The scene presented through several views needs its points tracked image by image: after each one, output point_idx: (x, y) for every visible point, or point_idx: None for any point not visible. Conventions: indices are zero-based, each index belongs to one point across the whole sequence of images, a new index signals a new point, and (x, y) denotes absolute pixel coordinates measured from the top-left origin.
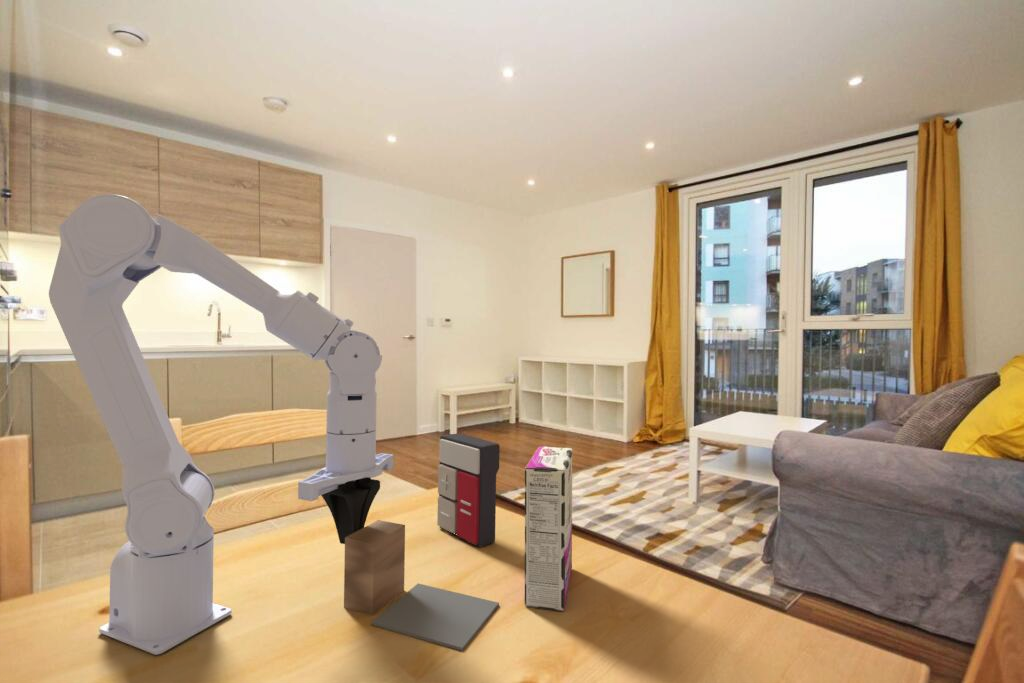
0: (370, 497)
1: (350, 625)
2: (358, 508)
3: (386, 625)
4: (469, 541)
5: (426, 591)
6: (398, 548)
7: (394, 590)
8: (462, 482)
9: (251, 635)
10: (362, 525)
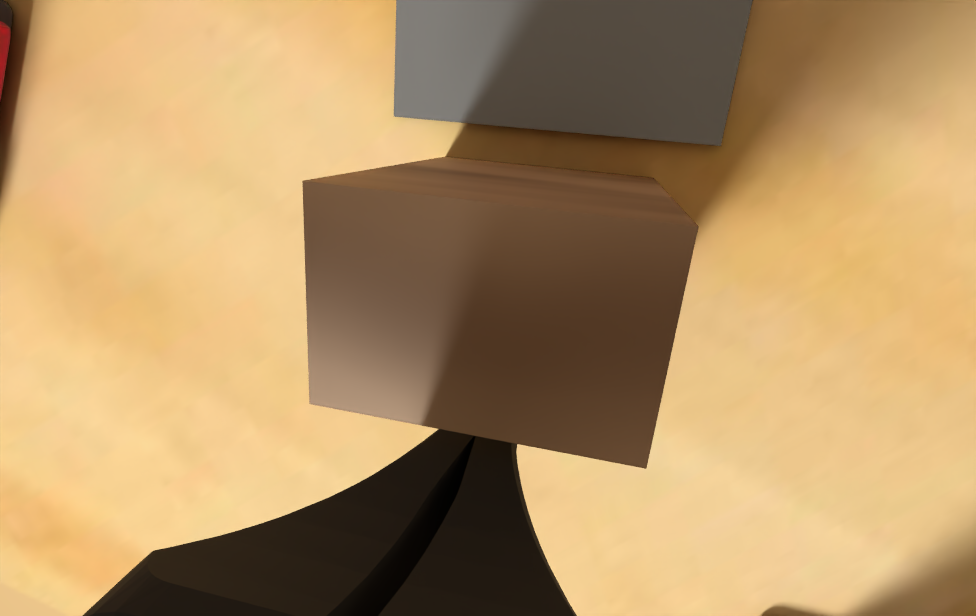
0: (315, 552)
1: (737, 223)
2: (484, 555)
3: (733, 66)
4: (3, 69)
5: (439, 41)
6: (428, 176)
7: (505, 165)
8: None
9: (861, 503)
10: (440, 451)
